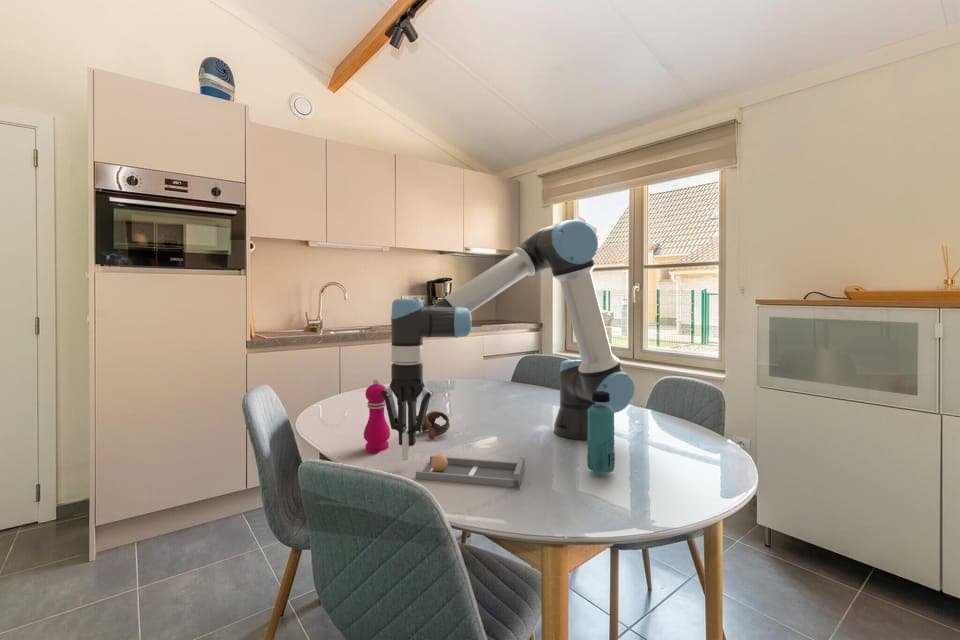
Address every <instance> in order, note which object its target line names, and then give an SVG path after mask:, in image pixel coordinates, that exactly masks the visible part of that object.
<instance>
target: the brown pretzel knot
mask: <svg viewBox="0 0 960 640" xmlns="http://www.w3.org/2000/svg"><path fill="white" fill-rule="evenodd" d="M440 417H441V418H442V420H444V421H445V423H444V424H442V425H440V424H438V423H437V422H436V420H437V419H439V418H440ZM417 418H418V415H416V423H417ZM450 426H451V425H450V420H449V417H448V416H447V414H446V413H443V412H441V411H437V410H435V411H434V410H433V411H429V412H428V413H426V417H425V421H424V425H423V428H422V429H421V430H419V431H418V433H421V432H422V433H425V432H427V431H429V433H428V439H431V440H434V439H435V438H436V437H439V436H441V435H443V434H446V433H448V432H447V431H448V430H449V429H450Z"/></svg>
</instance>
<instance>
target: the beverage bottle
mask: <svg viewBox="0 0 960 640" xmlns="http://www.w3.org/2000/svg"><path fill="white" fill-rule="evenodd" d="M592 401H595V402H610V396H609V393H608V392H605V391H594V392H593V395H592ZM615 414H616V413H615V412H614V410H613V409H612V408H611V407H610V406H608V405H603V404H595V405H592V406H591V407H590V408H589V409H588V436H587V439H586V461H587V462H586V464H587V468H588V469H589V471H591V472H594V473H599V474H608V473H609V474H610V473H612V472H614V469H615V464H616V463H615V460H616V458H615V457H616V455H615V449H616V448H615V433H616V432H615Z"/></svg>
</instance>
